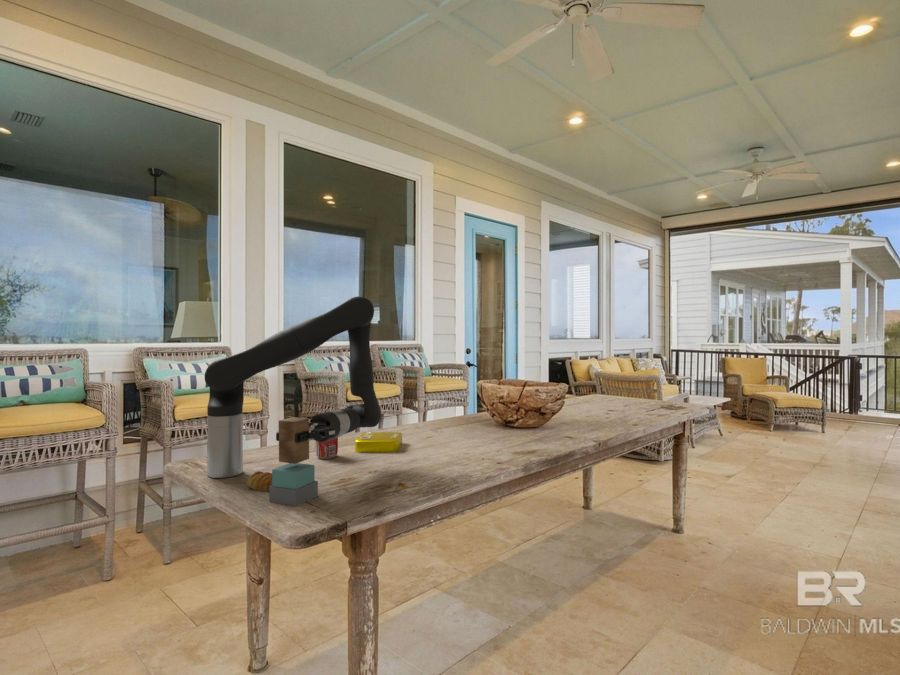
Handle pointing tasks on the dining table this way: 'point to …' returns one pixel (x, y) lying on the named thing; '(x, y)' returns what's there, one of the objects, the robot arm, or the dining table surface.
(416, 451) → the dining table surface
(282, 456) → the walnut pillar
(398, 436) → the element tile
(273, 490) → the tower base slab
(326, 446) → the soda can
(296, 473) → the tower top slab
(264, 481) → the pastry
